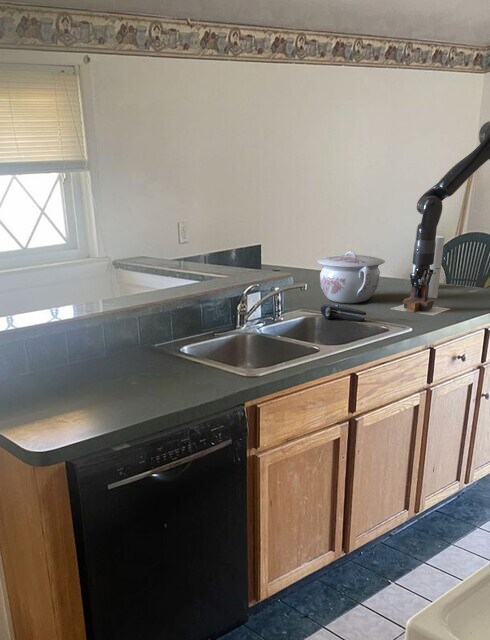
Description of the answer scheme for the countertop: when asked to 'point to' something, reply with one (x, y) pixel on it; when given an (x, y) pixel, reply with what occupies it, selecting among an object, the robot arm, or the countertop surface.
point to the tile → (430, 312)
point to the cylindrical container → (436, 267)
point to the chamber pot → (349, 277)
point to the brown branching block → (423, 299)
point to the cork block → (412, 307)
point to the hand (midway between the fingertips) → (419, 297)
